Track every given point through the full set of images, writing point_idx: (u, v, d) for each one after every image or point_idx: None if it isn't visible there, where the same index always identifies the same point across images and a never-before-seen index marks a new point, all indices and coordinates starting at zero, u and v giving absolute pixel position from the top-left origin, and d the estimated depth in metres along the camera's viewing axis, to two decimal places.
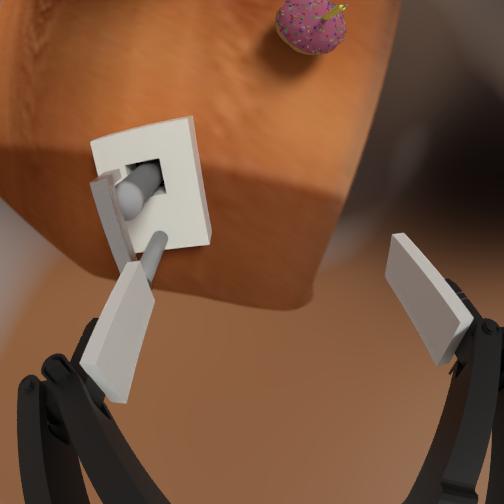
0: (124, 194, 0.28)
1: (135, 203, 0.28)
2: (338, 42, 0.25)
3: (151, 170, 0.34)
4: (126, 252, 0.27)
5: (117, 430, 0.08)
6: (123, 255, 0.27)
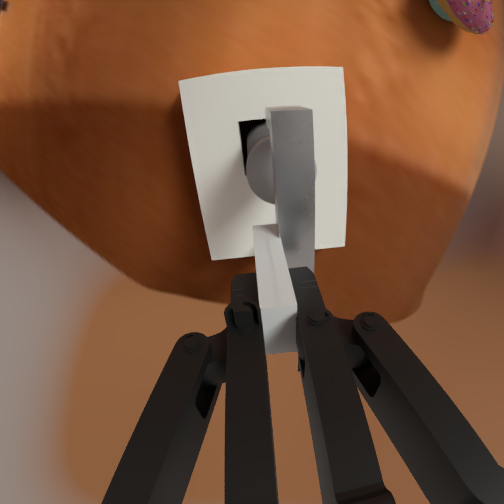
0: None
1: None
2: (490, 26, 0.13)
3: None
4: (311, 261, 0.15)
5: (269, 395, 0.09)
6: None
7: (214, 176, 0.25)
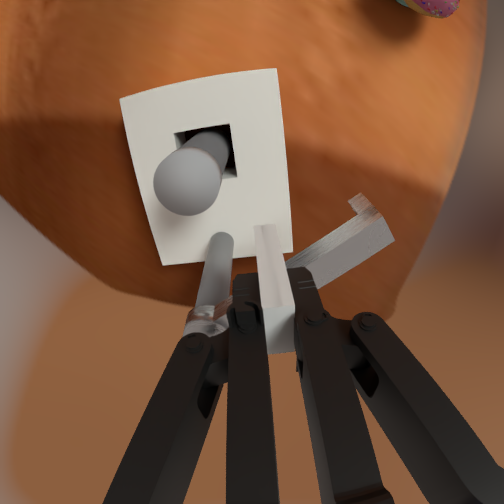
0: (189, 168, 0.16)
1: (209, 184, 0.17)
2: (455, 8, 0.13)
3: (219, 140, 0.22)
4: None
5: None
6: None
7: None
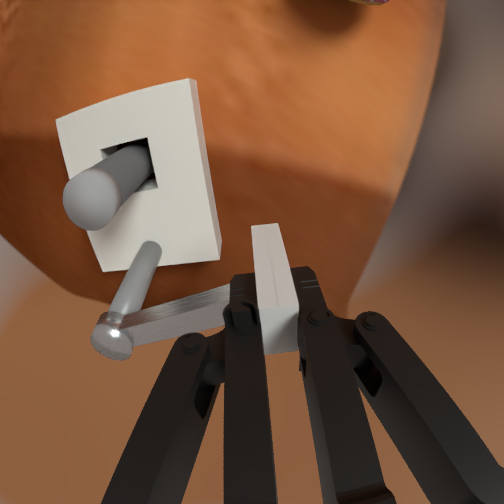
0: (88, 188, 0.16)
1: (105, 202, 0.17)
2: None
3: (136, 155, 0.22)
4: (177, 335, 0.18)
5: None
6: (169, 331, 0.17)
7: None
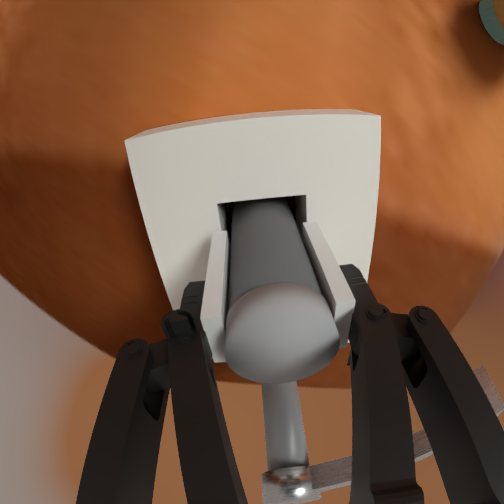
0: (296, 334, 0.09)
1: (322, 351, 0.10)
2: None
3: (293, 225, 0.15)
4: None
5: (219, 399, 0.09)
6: None
7: (187, 276, 0.18)
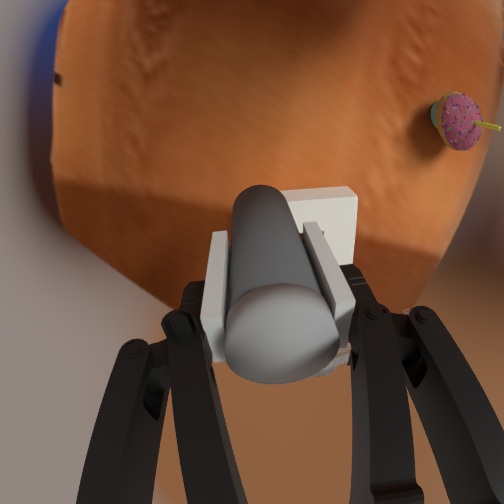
0: (296, 335, 0.09)
1: (322, 352, 0.10)
2: None
3: (293, 225, 0.15)
4: None
5: (219, 399, 0.09)
6: None
7: None
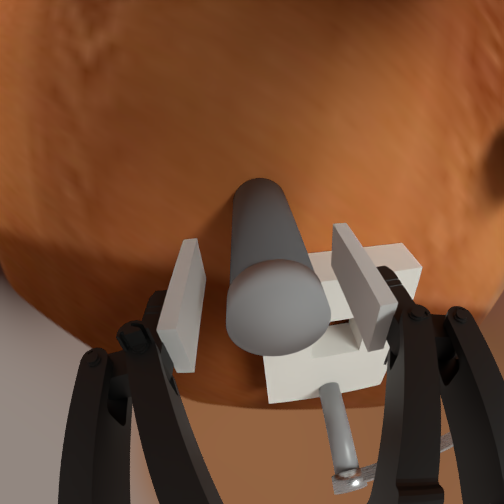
0: (291, 304, 0.11)
1: (315, 323, 0.11)
2: None
3: (289, 213, 0.17)
4: None
5: (182, 407, 0.09)
6: None
7: (282, 360, 0.26)
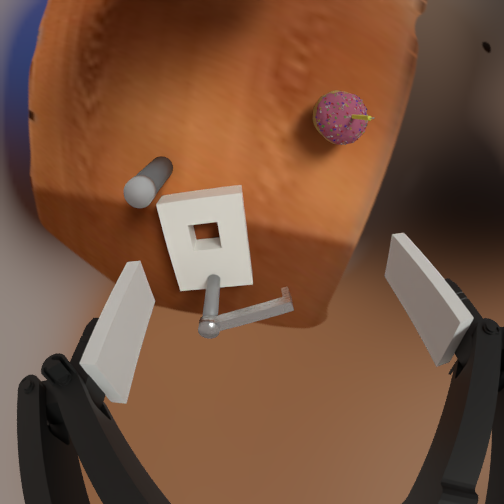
0: (139, 185, 0.34)
1: (148, 193, 0.35)
2: (361, 134, 0.38)
3: (161, 167, 0.40)
4: (243, 324, 0.42)
5: (117, 430, 0.08)
6: (240, 322, 0.41)
7: (178, 251, 0.49)
